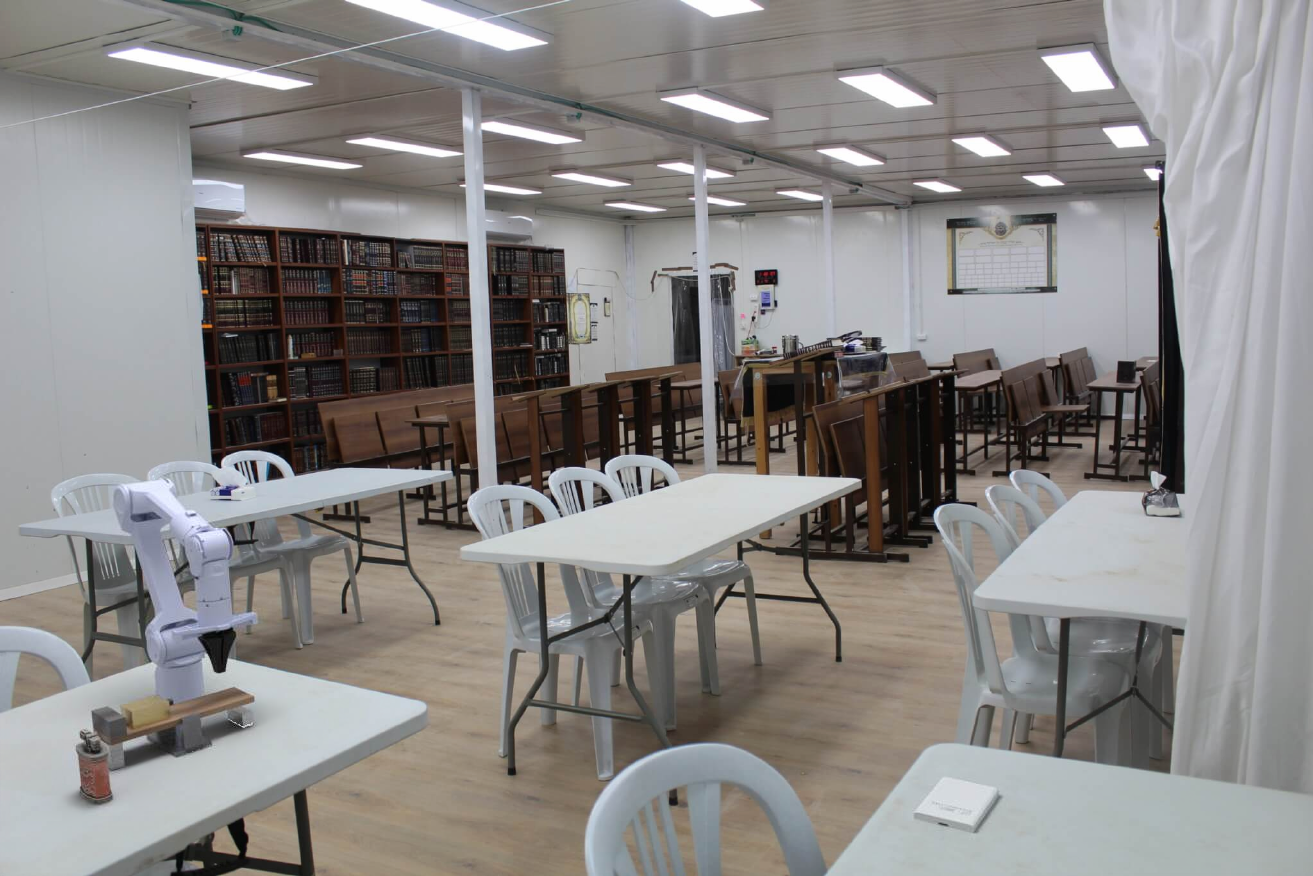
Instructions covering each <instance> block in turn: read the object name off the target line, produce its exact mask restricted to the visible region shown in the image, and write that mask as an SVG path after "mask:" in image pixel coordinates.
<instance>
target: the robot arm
mask: <svg viewBox="0 0 1313 876" xmlns="http://www.w3.org/2000/svg"><path fill="white" fill-rule="evenodd" d="M177 492H178V491H177V488H176V486H175V484H174V482H173V481H171V479H170V478H168V477H165V478H162V479H155V480H146V481H141V482H140V481H139V482H135V483H132V482H131V483H126V484H124V483H119V484H117V485H116V488H115V489H114V490H113V503H112V505H113V508H114V513H115V515H116V519H117V521H118V524H119V526H120V528H121V531H122V532H125V533H128V534H130V536H131V540H132V542H133V545H134V549H135V551H136V555H137V559H138V561H139V564H140V568H141V571H142V573H143V574H142V575H143V577H144V579H145V583H146V586H147V590H148V592H149V595H150V599H151V602H152V605H153V608H154V612H155V614H156V615H155V617H154V618H153V619H152V620H151V621H150V623H149V624H148V625H147V626H146V628H145V632H144V634H145V639H146V649H147V650H146V651H147V654H148V657H149V659H150V660H151V662H152V663H153V664H155V665H156V667H155V669H154V681H155V692H156V695H158V696H160V697H162V698H164V699H166V700H167V699H172V700H173V704H177V703H180V702H184V701H187V700H191V699H194V698H198V697H201V696H204V695H206V694H205V682H204V672H203V671H204V670H203V661H202V660H203V659H205V658H206V654H207V656H208V659H209V660H210V663H211V667H212V671H213V672H214V673H216V674H222V673H227V666H228V658H229V656H230V652H231V649H232V646H233V644H234V642H235V640H236V639H237V632H236V631H235V630H234V629H237V628H241V627H245V626H246V627H247V626H250V625H252V626H253V625H254V626H255V625H258V624H259V620H258V619H259V618H258V617H259V616H258V613H256V612H254V611H251V612H245V613H239V614H233V605H232V604H233V603H232V594H231V593H232V592H231V583H230V582H231V581H230V569H229V568H230V567H229V560H231V559H232V558H233V555H234V550H235V549H234V542H233V538H232V535H231V534H230V532H229V530H228V529H227V528H225V527H220V528H219V527H213V526H212V525H211V524H210V523H209V522H208V521H207V520H205V519H204V518H203V517H202V516H201V515H200V514H199V513H198V512H196V511H195V510H194V509H193V510H192V509H191V510H190V509H187V510H186V508H185V507H184V505H182V504H181V502H180V501H179V500H178V493H177ZM167 525H169V527H168V530H169V532H170V534H171V535H172V537H173V538H174V539H175V540H176V541H178V542H179V544H180V545H182V547H184V551H185V556H186V559H187V561H188V564H189V571H190V575H192V576H193V581H194V590H195V591H194V592H195V601H196V602H195V604H196V610H193V609H190V608H188V607H186V606H185V605H184V603H183V598H182V596H181V593H180V589H179V586H178V584H177V580H176V577H175V574H174V571H173V569H172V568H173V567H172V565H171V562H170V559H169V556H168V552H167V549H166V547H165V544H164V540H163V537H162V534H161V530H162V528H163V527H166V526H167Z"/></svg>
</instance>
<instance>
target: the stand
mask: <svg viewBox="0 0 1313 876" xmlns="http://www.w3.org/2000/svg"><path fill="white" fill-rule="evenodd" d="M167 700H168V701H169V706H170V705H174V704H173V700H172V699H167ZM226 713H227V720H228V719H230V720H232V721H233V722H236V723H237V724H240V725H241V726H245V725H247V724H251V723H252V722H254V723H255V721H254V711H252V710H250V709H249V708H246V707H245V706H243V705H242V706H239V707H236V708H233V709H229V710H226ZM201 719H202V718H201V717H200V714H199V713H195V714H192V715H188V716H185V717H182V718H179V720H180V725H177V726H174V727H171V728H168V729H164V730H161V731H158V732H155V733H151V734H148V735H146V739H147V740H148V741H149V742H151V743H153V744H154V745H156V746H157V747H159V748H161V749H162V750H165V752H167V753H169V754H170V753H171V754H170V755H172V754H173V755H172V756H174V757H175V756H176V757H175V758H178V757H181V755H182V756H184V755H183V754H185V755H187V754H186V753H188V754H190V752H191V753H193V752H192V751H194V752H196V750H197V751H199V750H198V749H200V750H202V748H203V749H205V748H204V747H206V748H208V747H207V746H209V745H212V746H213V741H212V740H211V739H208V738H207V737H205V736H203V731H202V720H201ZM100 741H101V744H102V745H104V746H105V747H106V748H107V750H108V754H109V757H108V758H107V759H108V769H109V770H111V771H113V770H116V769H120V768H124V767H125V755H124V744H123V743H124V742H122V743H119V744H115V745H112V746H111V745H110V744H108V743H107V742H105V741H104V740H102V739H101V738H100ZM209 747H210V746H209ZM177 756H178V757H177Z"/></svg>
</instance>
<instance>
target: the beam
mask: <svg viewBox="0 0 1313 876" xmlns="http://www.w3.org/2000/svg"><path fill="white" fill-rule="evenodd" d="M252 703H255V696H254V695H252V694H250V693H249V692H246V691H243V690H241V689H240V688H237V687H235V686H233V687H229V688H226V689H223V690H222V689H221V690H219V691H215V692H212V693H209V694H205V695H204V696H201V697H198V698H194V699H191V700H187V701H184V702H180V703H177V704H174V705H170V706H169V707H170V717H171V718H170V719H167V720H163V721H160V722H157V723H153V724H150V725H147V726H143V727H140V728H137V729H132V728H130V727H129V726H127V725H126V718H125V717H124V716H123V715H121V713H120V712H118V711H116V710H115V709H113V708H111V707H110V706H108V705H106V706H103V707H99V708H96V709H93V710H91V712H90V713H91V719H92V721H91V722H92V729H93V731H92V732H97V733H98V736H99V738H101V739H102V740H104V741H105V742H107V743H108V744H110V745H111V746H112V745H115V744H119V743H125V742H127V741H131V740H134V739H138V738H142V737H144V736H147V735H148V734H151V733H155V732H158V731H161V730H164V729H168V728H171V727H174V726H177V725H180V720H179V718H182V717H185V716H188V715H192V714H195V713H199V714H200V717H201V719H203V718H205V717H209V716H212V715H216V714H219V713H220V714H221V713H222V712H225V711H226V712H227V710H229V709H233V708H236V707H239V706H242V707H243V706H245V705H249V704H252Z"/></svg>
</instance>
